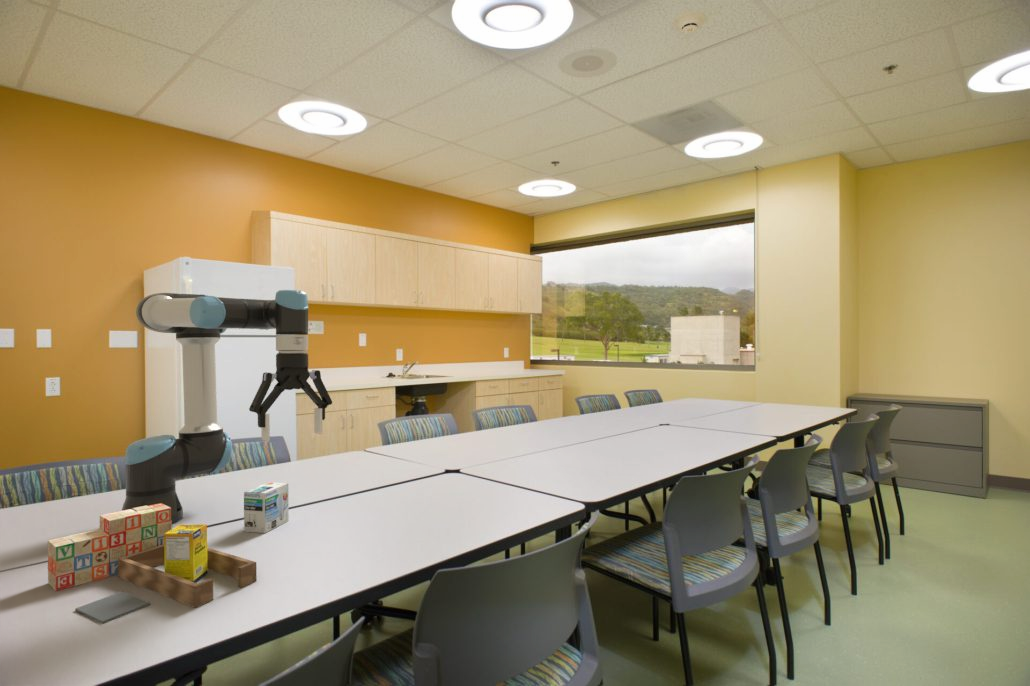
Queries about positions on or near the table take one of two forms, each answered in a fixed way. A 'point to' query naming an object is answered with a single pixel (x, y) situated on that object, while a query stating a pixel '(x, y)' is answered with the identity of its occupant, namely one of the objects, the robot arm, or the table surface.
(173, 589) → the open wooden frame
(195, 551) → the supplement box
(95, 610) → the mat
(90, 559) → the stack of blocks
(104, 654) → the table surface
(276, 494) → the light bulb box
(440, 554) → the table surface
